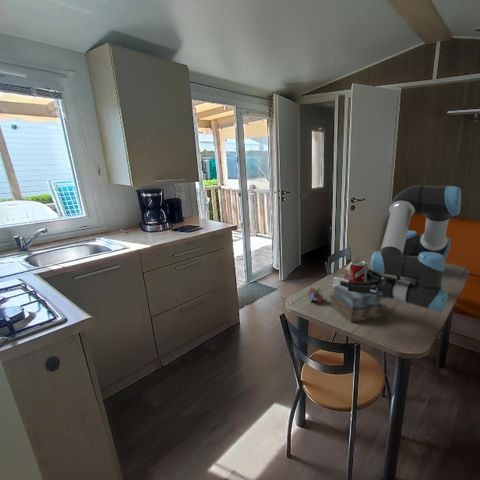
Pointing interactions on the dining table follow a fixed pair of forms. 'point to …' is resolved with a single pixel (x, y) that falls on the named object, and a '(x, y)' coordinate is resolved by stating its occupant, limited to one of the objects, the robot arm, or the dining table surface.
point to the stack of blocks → (347, 275)
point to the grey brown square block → (356, 304)
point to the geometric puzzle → (315, 295)
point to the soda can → (358, 271)
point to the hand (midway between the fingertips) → (341, 274)
